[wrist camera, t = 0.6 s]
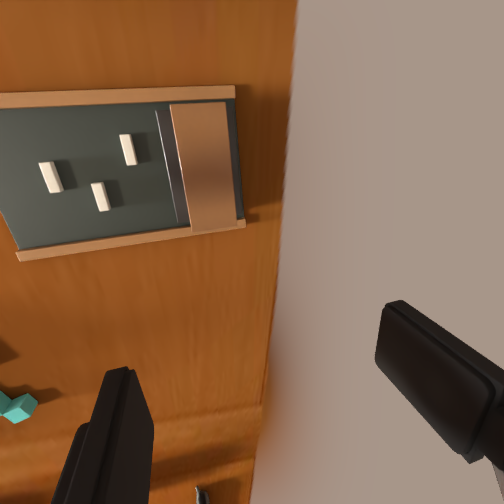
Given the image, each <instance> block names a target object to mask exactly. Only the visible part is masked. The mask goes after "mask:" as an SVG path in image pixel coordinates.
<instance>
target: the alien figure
mask: <svg viewBox="0 0 504 504" xmlns="http://www.w3.org/2000/svg"><path fill="white" fill-rule="evenodd" d="M37 404H38V401H37V400H35V399H34V398H33V397H32V396H31V395H30V394H28V393H27V394H24V395H22V396H20V397H18V398H15V399H13V400H11V399H10V398H9V397H8V396H6V395H5V394H4V393H3V392H1V391H0V416H1V415H3V416H5V417H6V418H7V419H9V420H10V421H12V422H13V423H14V424H15V423H17V422H19V421H22V420H24V419H26V418H28V417H31V415H32V413H33V411H34V409H35V407H36V406H37Z"/></svg>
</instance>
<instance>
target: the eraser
mask: <svg viewBox="0 0 504 504" xmlns="http://www.w3.org/2000/svg"><path fill="white" fill-rule="evenodd" d="M156 116H157V121H158V126H159V131H160V136H161V141H162V146H163V151H164V156H165V161H166V166H167V171H168V176H169V181H170V187H171V192H172V197H173V202H174V207H175V212H176V217H177V222H178V223H182V222H189V221H190V224H191V230H192V232H200V231H206V230H213V229H220V228H226V227H233V226H237V215H239V214H242V208H241V196H240V185H239V173H238V162H237V150H236V139H235V127H234V116H233V107H232V106H231V107H226V102H210V103H188V104H170V110H156Z"/></svg>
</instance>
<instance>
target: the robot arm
mask: <svg viewBox="0 0 504 504" xmlns="http://www.w3.org/2000/svg"><path fill="white" fill-rule="evenodd" d="M375 362H376V364H377V366H378V367H379V368H380V369H381V371H382V372H383V373H384V374H385V375H386V376H387V377H388V379H389V380H390V381H391V382H392V383H393V384H394V385H395V386H396V387H397V389H398V390H399V391H400V392H401V393H402V394H403V395H404V396H405V398H406V399H407V400H408V401H409V402H410V403H411V404H412V405H413V406H414V407H415V408H416V410H417V411H418V412H419V413H420V414H421V415H422V416H423V418H424V419H425V420H426V421H427V422H428V423H429V424H430V425H431V426H432V427H433V429H434V430H435V431H436V432H437V433H438V434H439V435H440V436H441V437H442V439H443V440H444V441H445V442H446V443H447V444H448V445H449V447H450V448H451V449H452V450H453V451H454V452H456V453H457V454H461V455H462V456H463V457H464V459H465V460H466V461H467V462H468V463H469V464H471V463H473V462H475V461H477V460H480V459H482V458H483V457H484V455H485V456H486V457H487V458H488V459H489V460H490V461H491V462H492V465H493V468H494V471H495V474H496V477H497V481H498V484H499V487H500V490H501V493H502V496H503V499H504V370H503V369H502V368H500V367H499V366H497V365H496V364H494V363H493V362H492V361H490V360H488V359H487V358H486V357H484V356H483V355H481V354H480V353H478V352H477V351H476V350H474V349H473V348H471V347H470V346H468V345H467V344H465V343H464V342H463V341H461V340H460V339H458V338H457V337H455V336H454V335H452V334H451V333H450V332H448V331H447V330H445V329H444V328H442V327H441V326H439V325H438V324H437V323H435V322H434V321H432V320H431V319H429V318H428V317H426V316H425V315H424V314H422V313H420V312H419V311H418V310H416V309H415V308H414V307H412V306H410V305H409V304H408V303H406V302H405V301H403V300H398V301H394V302H390V303H387V304H386V305H385V307H384V308H383V310H382V315H381V321H380V327H379V333H378V340H377V346H376V352H375ZM153 441H154V424H153V420H152V418H151V415H150V412H149V409H148V406H147V403H146V400H145V398H144V395H143V392H142V389H141V386H140V383H139V380H138V378H137V375H136V372H135V370H134V369H133V370H129V369H128V367H127V366H125V367H121V368H117V369H113V370H109V371H107V372H106V373H105V376H104V379H103V382H102V385H101V388H100V392H99V395H98V398H97V401H96V404H95V407H94V410H93V413H92V416H91V420H90V422H88V423H84V424H82V425H81V426H80V427H79V428H78V430H77V432H76V434H75V437H74V439H73V442H72V445H71V448H70V451H69V454H68V456H67V459H66V462H65V465H64V468H63V470H62V473H61V476H60V479H59V482H58V484H57V487H56V490H55V493H54V496H53V498H52V501H51V504H148V500H149V488H150V476H151V464H152V452H153Z"/></svg>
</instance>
